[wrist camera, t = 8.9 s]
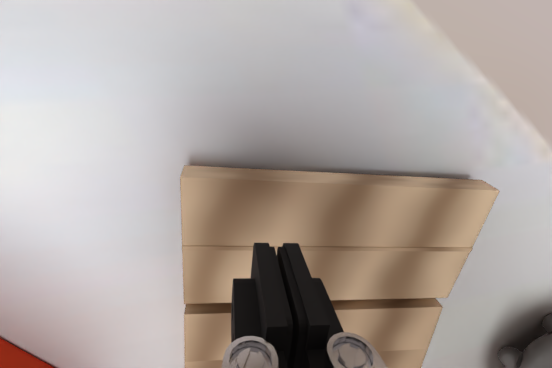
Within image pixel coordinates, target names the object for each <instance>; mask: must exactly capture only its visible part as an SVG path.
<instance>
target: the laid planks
mask: <svg viewBox="0 0 552 368" xmlns="http://www.w3.org/2000/svg"><path fill="white" fill-rule="evenodd" d="M330 301H331V303H332V305H333V308H334V310H335V312H336V314H337V317H338V319H339V321H340V324H341V326H342V328H343V331H344V332H349V333H354V334H357V335H359V336H361V337H363V338H364V339H366V340H367V341H368V342H370V344H371V345H372V346H373V347H374V348H375V350H376V351H377V352H378V354H379V355H380V357H381V358H382V360H383V361H384V363H385V364H386V366H387V367H388V368H421V366H422V363H423V360H424V358H425V355H426V352H427V349H428V347H429V344H430V341H431V338H432V335H433V333H434V330H435V327H436V324H437V322H438V319H439V316H440V313H441V311H442V308H443V307H442V305H441V304H440V303H439V302H438V301H437V300H436V299H435V298H407V299H364V300H330ZM184 335H185V368H221V367H222V362H223V356H224V354H225V351H226V349H227V347H228V346H229V345H230V344H231V303H194V304H186V308H185V313H184Z"/></svg>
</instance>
